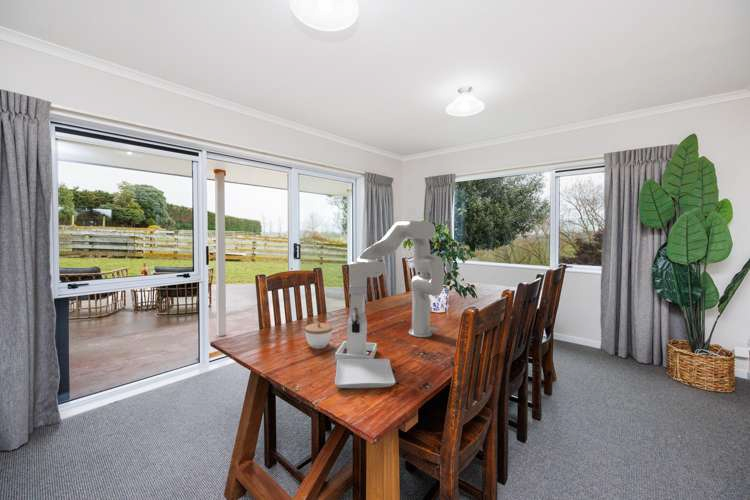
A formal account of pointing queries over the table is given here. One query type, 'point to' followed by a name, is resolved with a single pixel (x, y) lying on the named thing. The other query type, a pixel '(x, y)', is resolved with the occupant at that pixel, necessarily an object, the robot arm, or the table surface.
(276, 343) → the table surface
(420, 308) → the robot arm
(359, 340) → the milk carton
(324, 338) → the lidded bowl
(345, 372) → the salad plate
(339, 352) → the square tray
